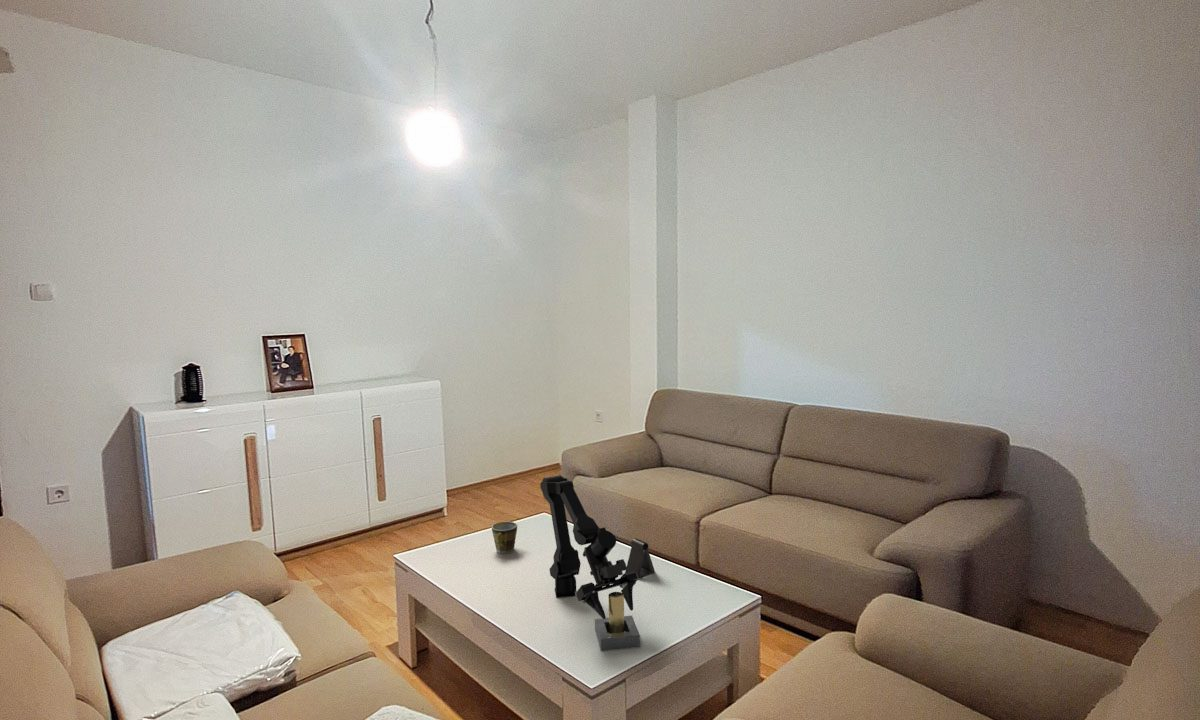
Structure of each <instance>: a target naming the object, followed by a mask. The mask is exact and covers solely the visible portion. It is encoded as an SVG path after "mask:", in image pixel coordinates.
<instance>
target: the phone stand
mask: <svg viewBox="0 0 1200 720" xmlns="http://www.w3.org/2000/svg"><path fill="white" fill-rule="evenodd" d="M630 547H631V548H630V551H629V556H628V560H627V564H626V567H627V569H626V570H624V571H625V572H624V573H628V572H632V571H634V572H636V573H637V575H638V577H639V579H642V578H645V577H646V576H649V575H653V574H655V573H656V570H655V568H654V565H653V561H652V558H651V555H650V552H649V551H650V550H649V544H648V543H647V542H645V541H642V540H641V539H638V538H637V537H635V538H632V539H631V542H630Z"/></svg>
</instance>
